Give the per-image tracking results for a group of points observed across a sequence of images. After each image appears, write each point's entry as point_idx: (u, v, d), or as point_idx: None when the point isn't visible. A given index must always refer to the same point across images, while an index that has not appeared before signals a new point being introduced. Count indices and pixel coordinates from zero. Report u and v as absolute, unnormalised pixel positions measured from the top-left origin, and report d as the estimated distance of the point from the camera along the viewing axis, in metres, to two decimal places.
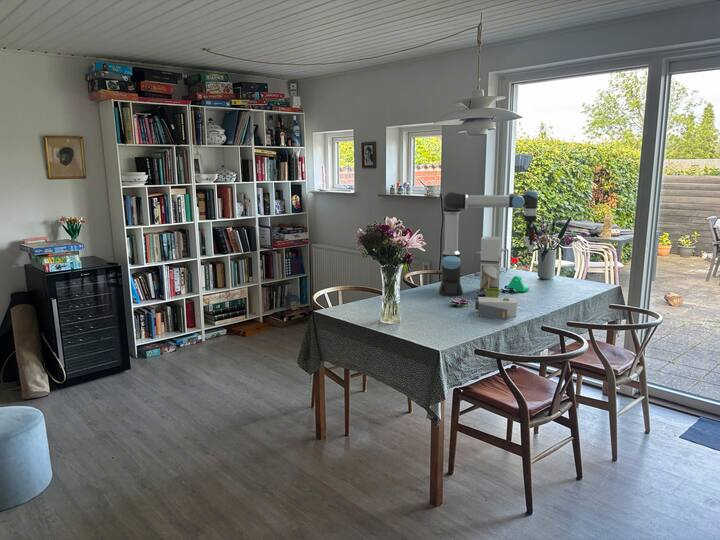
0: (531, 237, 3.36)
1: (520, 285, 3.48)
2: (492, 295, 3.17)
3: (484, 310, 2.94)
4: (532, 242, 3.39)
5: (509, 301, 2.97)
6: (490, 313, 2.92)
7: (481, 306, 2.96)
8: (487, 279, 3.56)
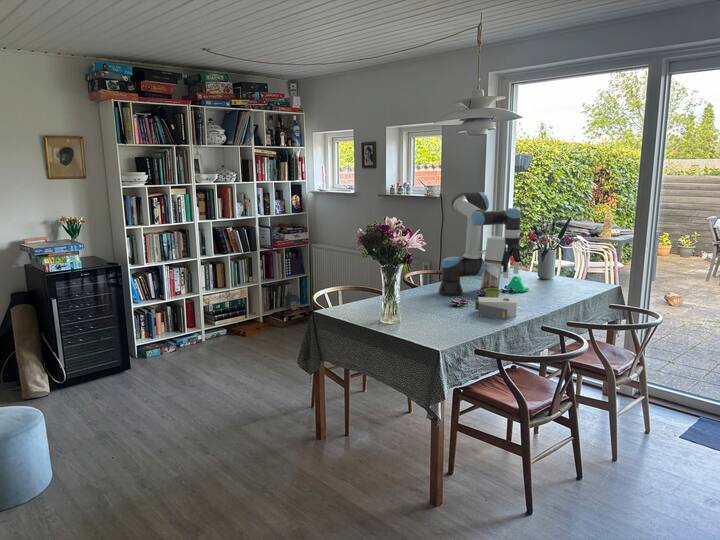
0: (503, 263, 2.86)
1: (520, 285, 3.47)
2: (492, 295, 3.17)
3: (484, 310, 2.94)
4: (507, 269, 2.88)
5: (509, 301, 2.97)
6: (490, 313, 2.92)
7: (481, 306, 2.96)
8: (488, 278, 3.55)
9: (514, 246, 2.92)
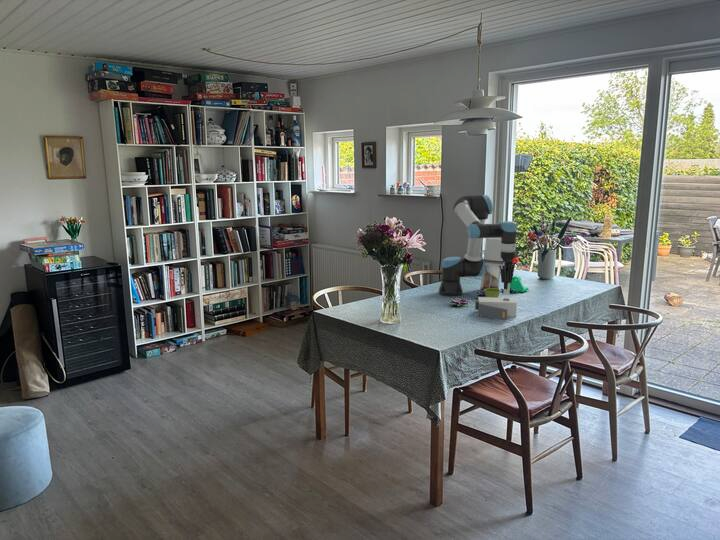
0: (503, 280, 2.85)
1: (519, 285, 3.47)
2: (492, 295, 3.17)
3: (484, 310, 2.94)
4: (507, 286, 2.87)
5: (509, 301, 2.97)
6: (490, 313, 2.92)
7: (481, 306, 2.96)
8: (487, 279, 3.54)
9: None
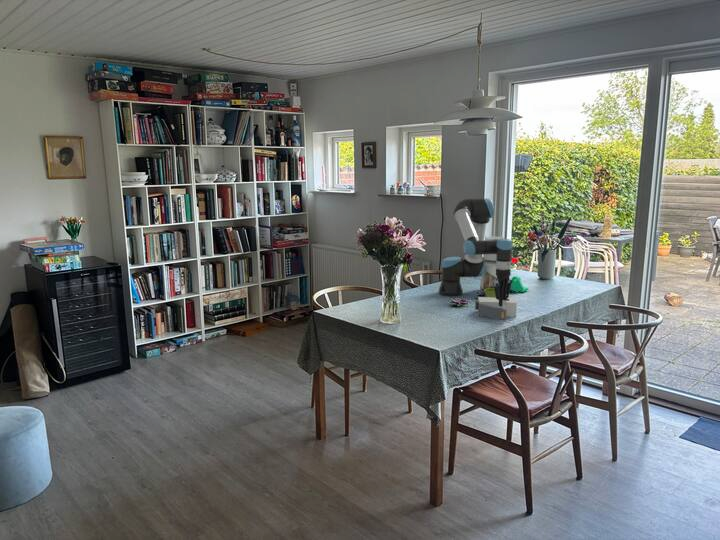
0: None
1: (519, 285, 3.47)
2: (492, 295, 3.17)
3: (484, 310, 2.94)
4: (502, 303, 2.86)
5: (509, 301, 2.97)
6: (490, 313, 2.92)
7: (481, 306, 2.96)
8: (487, 279, 3.54)
9: None
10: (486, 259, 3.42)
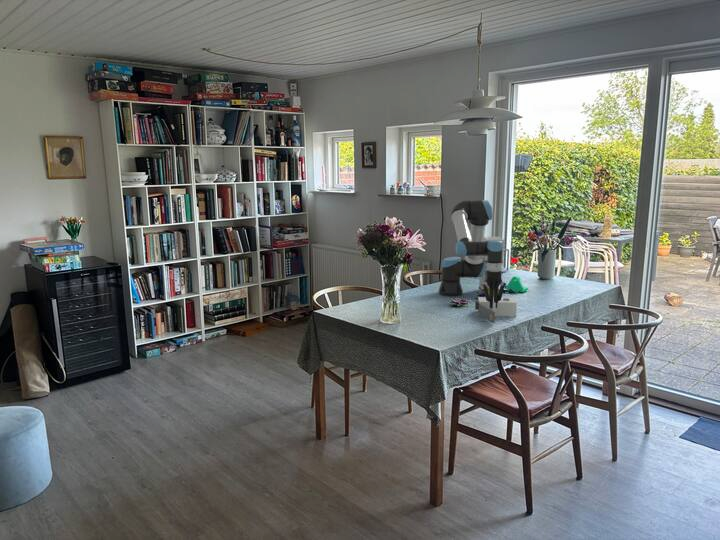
0: None
1: (519, 285, 3.46)
2: None
3: (481, 310, 2.94)
4: (492, 305, 2.83)
5: (509, 301, 2.97)
6: (484, 314, 2.91)
7: (480, 306, 2.96)
8: (485, 279, 3.53)
9: None
10: (486, 260, 3.41)
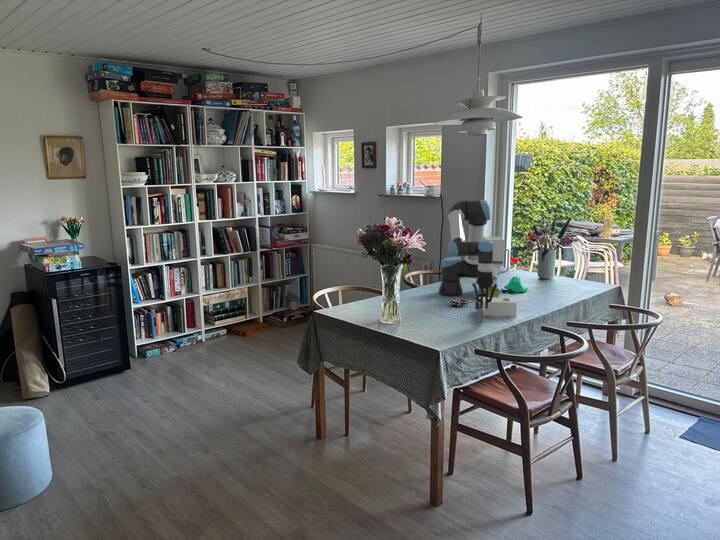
0: None
1: (519, 285, 3.46)
2: None
3: (479, 310, 2.94)
4: (482, 306, 2.83)
5: (509, 301, 2.97)
6: None
7: (479, 306, 2.96)
8: None
9: None
10: None
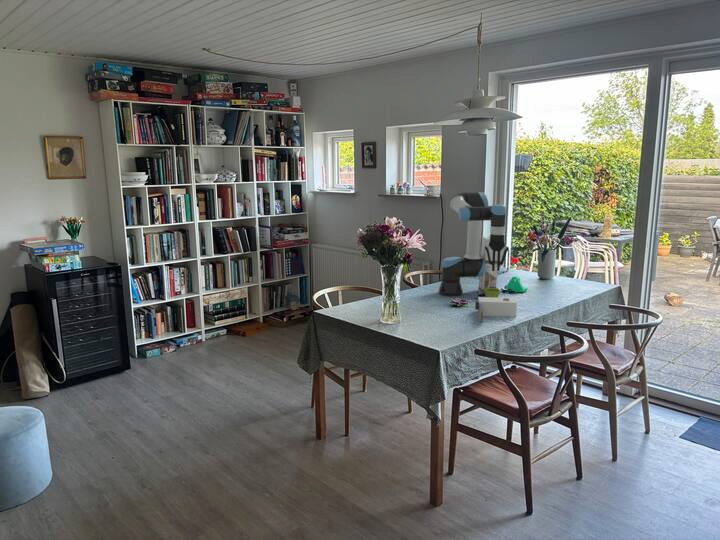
0: (489, 261, 2.92)
1: (519, 286, 3.46)
2: (492, 295, 3.17)
3: (479, 310, 2.94)
4: None
5: (509, 301, 2.97)
6: None
7: (479, 306, 2.96)
8: (485, 279, 3.53)
9: None
10: (486, 260, 3.41)
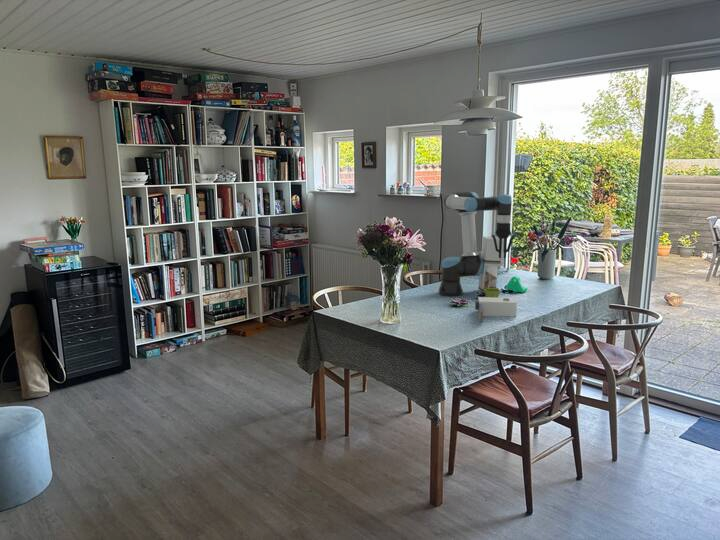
0: (496, 249, 3.06)
1: (518, 286, 3.46)
2: (492, 295, 3.17)
3: (479, 310, 2.94)
4: (501, 255, 3.05)
5: (509, 301, 2.97)
6: None
7: (479, 306, 2.96)
8: (485, 279, 3.53)
9: None
10: (487, 259, 3.41)
